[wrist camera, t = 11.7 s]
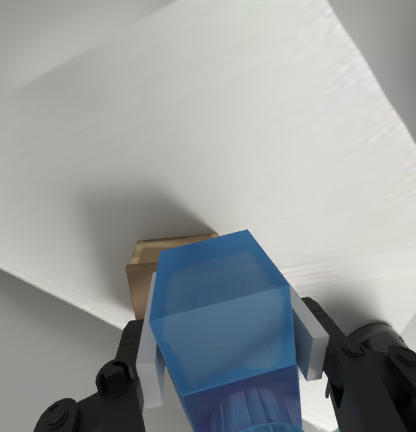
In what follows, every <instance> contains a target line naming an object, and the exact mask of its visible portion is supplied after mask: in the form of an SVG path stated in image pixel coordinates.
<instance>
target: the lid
mask: <svg viewBox="0 0 416 432" xmlns="http://www.w3.org/2000/svg"><path fill="white" fill-rule="evenodd" d="M157 266H158V262H149V263H138V264H128V265H127V267H126V272H127V277H128V282H129V287H130V292H131V297H132V302H133V307H134V312H135V317H136V320H140V319H144V318H145V312H146V307H147V302H148V296H149V291H150V285H151V280H152V275H153V272H157ZM165 365H166V364H165Z"/></svg>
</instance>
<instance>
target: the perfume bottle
mask: <svg viewBox="0 0 416 432" xmlns="http://www.w3.org/2000/svg"><path fill="white" fill-rule="evenodd" d="M149 325H150V327H151V329H152V332H153V334H154V337H155V339H156V342H157V344H158V347H159V349H160V352H161V354H162V357H163V359H164V362H165V364H166V367H167V369H168V372H169V374H170V377H171V379H172V382H173V384H174V387H175V389H176V392H177V394H178V397H179V399H180V402H181V404H182V407H183V409H184V412H185V414H186V416H187V418H188V420H189V422H190V425H191V427H192V429H193V431H194V432H304V431H303V430H302V418H301V404H300V390H299V377H298V366H297V356H296V346H295V335H294V325H293V314H292V304H291V294H290V284H289V283H288V282H287V281H286V279H285V278H284V277H283V275H282V274H281V273H280V271H279V270H278V269H277V267H276V266H275V265H274V264H273V262H272V261H271V260H270V258H269V257H268V256H267V254H266V253H265V252H264V250H263V249H262V248H261V247H260V245H259V244H258V243H257V241H256V240H255V239H254V237H253V236H252V235H251V233H250V232H249V231H248V230H243V231H239V232H235V233H231V234H227V235H223V236H219V237H215V238H211V239H207V240H203V241H199V242H195V243H191V244H187V245H183V246H179V247H175V248H171V249H167V250H163V251H160V254H159V260H158V266H157V272H156V279H155V285H154V291H153V297H152V303H151V310H150V316H149Z"/></svg>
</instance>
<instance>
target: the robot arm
mask: <svg viewBox="0 0 416 432" xmlns="http://www.w3.org/2000/svg"><path fill="white" fill-rule="evenodd" d="M271 261H272V260H271ZM273 264H274V263H273ZM274 265H275V264H274ZM277 269H278V268H277ZM280 273H281V272H280ZM281 274H282V273H281ZM283 277H284V276H283ZM284 278H285V277H284ZM155 279H156V272H153V275H152V280H151V285H150V291H149V296H148V302H147V307H146V312H145V318H144V319H140V320H132V321H129V322H128V324H127V325H126V326H125V328H124V330H123V333H122V337H121V340H120V344H119V348H118V351H117V354H116V358H115V359H114V360H111V361H109V362H108V363H106V364H105V365H104V366H103V367H102V368H101V369H100V371H99V372H98V374H97V376H96V382H95V383H96V386H97V389H98V392H97V393H95V394H93V395H91V396H90V397H87V398H86V399H83V400H81V401H79V402H77V403H76V401H75V400H73V399H71V398H64V399H61V400H59V401H57V402H55V403H54V404H52V405H51V406H50V407H48V409H47V410H46V411H45V412H44V413H43V414H42V415H41V417H40V419H39V421H38V422H37V424H36V427H35V429H34V432H146V431H145V426H144V421H143V416H142V412H143V404H144V406H145V409H149V408H154V407H160V406H162V405H163V387H164V370H165V362H164V359H163V357H162V354H161V352H160V349H159V347H158V344H157V342H156V339H155V337H154V334H153V332H152V329H151V327H150V325H149V316H150V310H151V303H152V297H153V291H154V285H155ZM286 281H287V280H286ZM287 282H288V281H287ZM290 294H291V304H292V314H293V325H294V335H295V346H296V356H297V364H298V366H299V368H300V370H301V372H302V374H303V375H304V377H305V379H306V381H311V380H317V379H321V378H322V373H323V371H324V372H325V374H326V375H327V377H328V382H327V387H326V392H325V396H326V398H328V397H329V393H330V397H331V401H332V404H333V408H334V412H335V416H336V419H337V423H338V428H337V429H335V430H334V431H332V432H416V353H415V352H414V351H412V350H410V349H409V348H408V346H407V345H406V344H405V343H404V340H403V339H402V337H401V336H400V335H399V334H398V333H397V332H396V331H395V330H394V329H393V328H391V327H390V326H388V325H386V324H371V325H368V326H365V327H363V328H360V329H359V330H357V331H355V332H354V333H353V334H351V335H350V336H349V337H348V338H347V337H346V336H345V335H344V334H343V333H342V331H341V330H340V329H339V328H338V327H337V325H336V324H335V323H334V322H333V321H332V320H331V318H330V317H329V316H328V315H327V314H326V312H325V311H323V309H322V308H321V307H320V305H319V304H318V303H317V302H316V301H314V300H313V299H311V298H310V297H305V298H300V297H299V296H298V294H297V293H296V292H295V290H294V289H293V288H292V286H291V285H290Z"/></svg>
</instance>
